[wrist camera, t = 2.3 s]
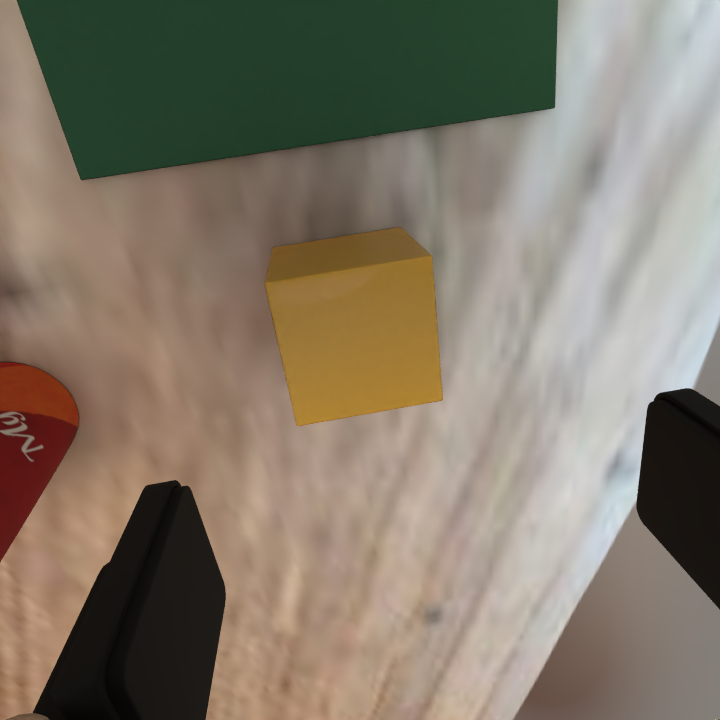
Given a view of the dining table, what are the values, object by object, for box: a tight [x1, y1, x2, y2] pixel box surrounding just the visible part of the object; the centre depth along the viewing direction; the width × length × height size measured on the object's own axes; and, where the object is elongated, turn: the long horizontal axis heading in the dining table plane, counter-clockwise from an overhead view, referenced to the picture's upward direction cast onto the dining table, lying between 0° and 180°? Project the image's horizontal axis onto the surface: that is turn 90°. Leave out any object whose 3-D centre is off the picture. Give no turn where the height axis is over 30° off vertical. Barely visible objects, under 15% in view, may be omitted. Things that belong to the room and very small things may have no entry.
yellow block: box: [265, 227, 443, 426], centre depth 21 cm, size 6×6×6 cm
